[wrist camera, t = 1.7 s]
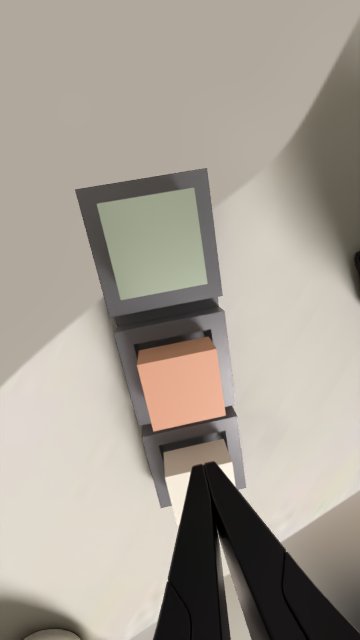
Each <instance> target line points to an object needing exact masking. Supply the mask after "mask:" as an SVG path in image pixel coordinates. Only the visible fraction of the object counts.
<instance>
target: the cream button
mask: <svg viewBox="0 0 360 640" xmlns="http://www.w3.org/2000/svg"><path fill="white" fill-rule="evenodd" d="M211 461H215V462H216V463H217V464H218V466H219V467H220V468H221V469H222V471H223V472H224V473H225V474H226V476H227V477H228V478H229V479H230V481H231V482H232V483H233V484H234V486H235V487H236V485H235V478H234V471H233V464H232V460H231V457H230V455H229V452H228V449H227V447H226V444H225V441H224V439H220V440H216V441H211V442H207V443H202V444H198V445H193V446H189V447H185V448H180V449H176V450H171V451H167V452H164V470H165V480H166V484H167V488H168V492H169V496H170V500H171V504H172V508H173V512H174V516H175V520H176V524H177V526H178V525H179V524H180V520H181V515H182V510H183V506H184V501H185V497H186V492H187V487H188V483H189V478H190V473H191V469H192V466H194V465H197V464H203V465H204V463H206V462H211Z"/></svg>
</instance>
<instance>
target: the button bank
mask: <svg viewBox="0 0 360 640" xmlns="http://www.w3.org/2000/svg"><path fill="white" fill-rule="evenodd" d="M188 188H194V189H195V197H196V204H197V211H198V218H199V225H200V233H201V240H202V247H203V254H204V261H205V269H206V276H207V283H208V284H204V285H199V286H194V287H188V288H183V289H178V290H173V291H167V292H162V293H157V294H152V295H146V296H141V297H136V298H131V299H125V300H121V299H120V295H119V291H118V287H117V283H116V279H115V275H114V271H113V267H112V263H111V259H110V255H109V251H108V247H107V243H106V239H105V235H104V231H103V227H102V223H101V219H100V215H99V211H98V207H97V204H99V203H105V202H110V201H116V200H122V199H128V198H134V197H140V196H146V195H152V194H158V193H164V192H170V191H176V190H182V189H188ZM75 191H76V195H77V199H78V202H79V206H80V209H81V213H82V217H83V220H84V225H85V228H86V232H87V235H88V239H89V243H90V247H91V250H92V254H93V258H94V261H95V265H96V269H97V273H98V276H99V280H100V284H101V287H102V291H103V295H104V299H105V302H106V306H107V310H108V314H109V317H115V320H116V324H117V327H116V329H115V331H114V336H115V340H116V343H117V347H118V351H119V354H120V358H121V362H122V365H123V369H124V373H125V377H126V380H127V384H128V388H129V391H130V395H131V399H132V403H133V406H134V410H135V414H136V417H137V421H138V425H139V426H141V425H143V428H142V440H143V443H144V447H145V451H146V455H147V458H148V462H149V466H150V469H151V473H152V477H153V480H154V484H155V488H156V492H157V495H158V499H159V503H160V506H161V508H163V507H167V506H172V504H171V500H170V496H169V492H168V488H167V484H166V480H165V470H164V452H167V451H171V450H176V449H180V448H185V447H189V446H193V445H198V444H202V443H207V442H211V441H216V440H220V439H224V441H225V444H226V447H227V449H228V452H229V455H230V457H231V460H232V464H233V471H234V478H235V485H236V488H237V489H238V490H239V489H243V488H246V483H245V475H244V467H243V459H242V451H241V443H240V434H239V426H238V418H237V415H236V413H235V411H234V409H233V407H232V405H236V402H235V393H234V385H233V377H232V369H231V361H230V353H229V344H228V336H227V328H226V320H225V312H224V310H222V309H221V308H220V307H219V305H218V296H223V295H222V287H221V279H220V271H219V263H218V254H217V246H216V238H215V230H214V222H213V213H212V205H211V197H210V189H209V182H208V173H207V168H205V169H199V170H193V171H186V172H180V173H174V174H168V175H161V176H155V177H150V178H144V179H137V180H132V181H126V182H119V183H113V184H107V185H100V186H94V187H88V188H82V189H76V190H75ZM208 336H209V338H210V339H211V341H212V343H213V344H214V346H215V347H216V349H217V355H218V363H219V370H220V377H221V384H222V391H223V399H224V406H225V413H226V416H221V417H217V418H212V419H208V420H203V421H199V422H194V423H190V424H185V425H181V426H176V427H172V428H167V429H163V430H158V431H154V432H153V428H152V424H151V420H150V416H149V412H148V408H147V404H146V400H145V396H144V392H143V388H142V384H141V380H140V376H139V372H138V368H137V361H138V354H139V350H144V349H149V348H154V347H159V346H164V345H169V344H174V343H179V342H184V341H189V340H193V339H198V338H203V337H208Z"/></svg>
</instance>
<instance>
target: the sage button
mask: <svg viewBox="0 0 360 640" xmlns="http://www.w3.org/2000/svg"><path fill="white" fill-rule="evenodd" d="M97 207H98V211H99V215H100V219H101V223H102V227H103V231H104V235H105V239H106V243H107V247H108V251H109V255H110V259H111V263H112V267H113V271H114V275H115V279H116V283H117V287H118V291H119V295H120V299H121V300H125V299H131V298H136V297H141V296H146V295H152V294H157V293H162V292H167V291H173V290H178V289H183V288H188V287H194V286H199V285H204V284H208V283H207V276H206V269H205V261H204V254H203V247H202V240H201V233H200V225H199V218H198V211H197V204H196V197H195V189H194V188H188V189H182V190H176V191H170V192H164V193H158V194H152V195H146V196H140V197H134V198H128V199H122V200H116V201H110V202H105V203H99V204H97Z"/></svg>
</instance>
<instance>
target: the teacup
mask: <svg viewBox="0 0 360 640" xmlns="http://www.w3.org/2000/svg"><path fill="white" fill-rule="evenodd" d="M23 640H81V639H80V638H79V637H78V636H77V635H76V634H74V633H72V632H70V631H67V630H62V629H47V630H41V631H38V632H35V633H33V634H31V635H29V636H28V637H26V638H25V639H23Z"/></svg>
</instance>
